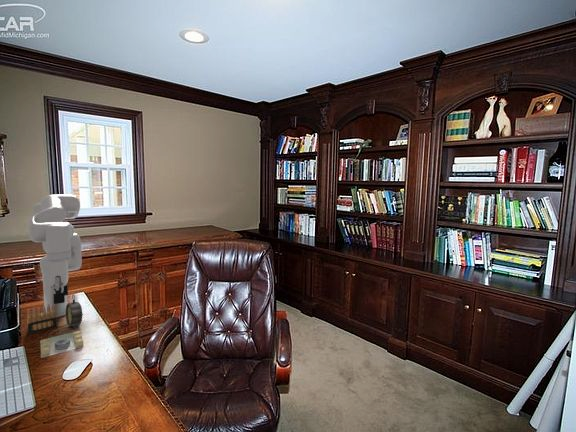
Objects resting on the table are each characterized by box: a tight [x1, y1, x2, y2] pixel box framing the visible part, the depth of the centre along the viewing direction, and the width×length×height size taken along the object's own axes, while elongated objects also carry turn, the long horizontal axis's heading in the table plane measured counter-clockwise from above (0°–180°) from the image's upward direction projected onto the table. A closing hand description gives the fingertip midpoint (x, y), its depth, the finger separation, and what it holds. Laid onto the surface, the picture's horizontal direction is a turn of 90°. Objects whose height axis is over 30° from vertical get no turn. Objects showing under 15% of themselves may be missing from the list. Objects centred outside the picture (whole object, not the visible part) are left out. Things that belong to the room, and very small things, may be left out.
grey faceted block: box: [55, 339, 70, 350], centre depth 125 cm, size 4×5×2 cm
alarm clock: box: [65, 293, 84, 331], centre depth 143 cm, size 11×5×16 cm, turn 48°
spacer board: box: [40, 330, 85, 359], centre depth 128 cm, size 17×14×3 cm
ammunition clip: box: [26, 303, 58, 335], centre depth 139 cm, size 11×2×12 cm, turn 135°
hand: (61, 299), depth 117 cm, fingers open, 9 cm apart
